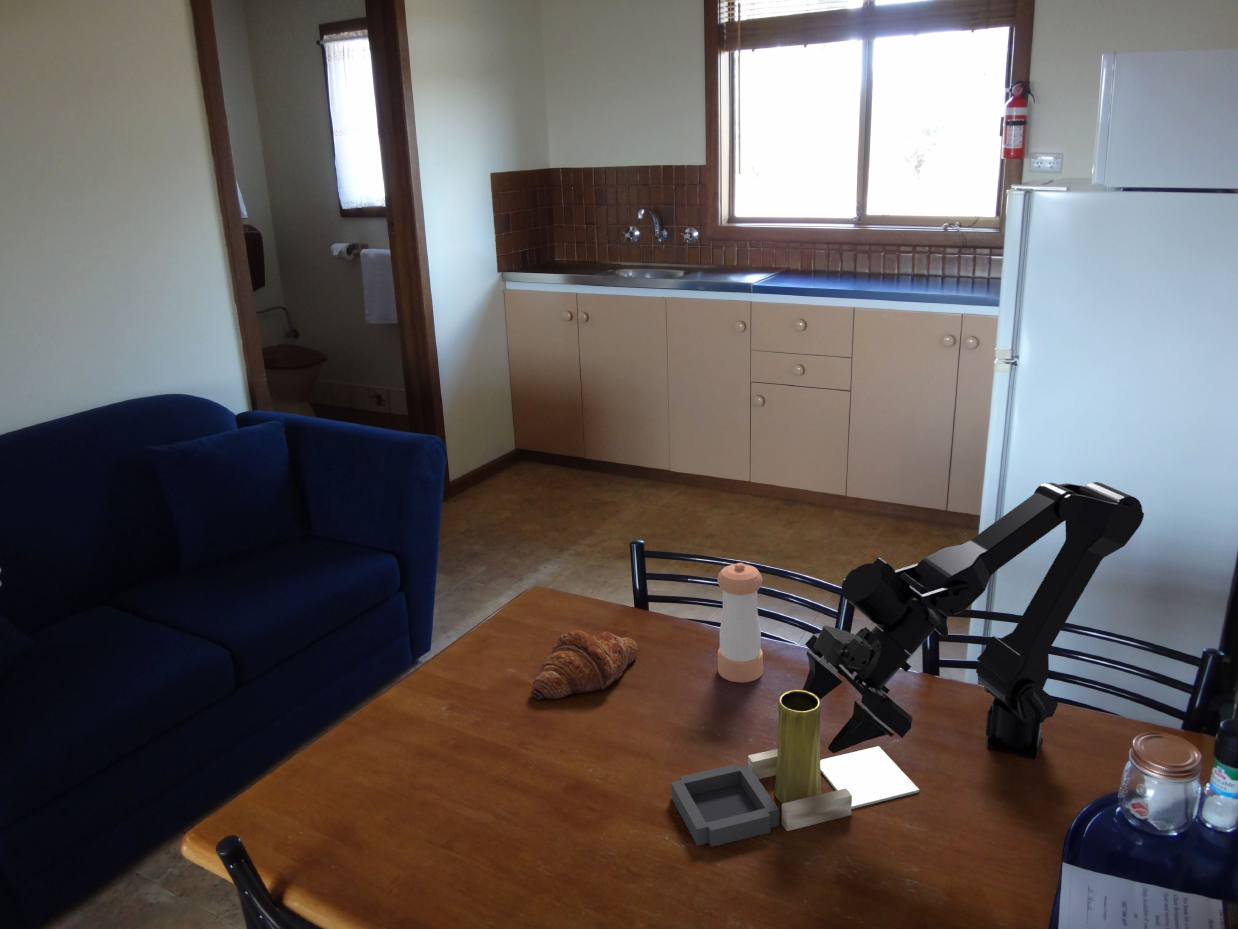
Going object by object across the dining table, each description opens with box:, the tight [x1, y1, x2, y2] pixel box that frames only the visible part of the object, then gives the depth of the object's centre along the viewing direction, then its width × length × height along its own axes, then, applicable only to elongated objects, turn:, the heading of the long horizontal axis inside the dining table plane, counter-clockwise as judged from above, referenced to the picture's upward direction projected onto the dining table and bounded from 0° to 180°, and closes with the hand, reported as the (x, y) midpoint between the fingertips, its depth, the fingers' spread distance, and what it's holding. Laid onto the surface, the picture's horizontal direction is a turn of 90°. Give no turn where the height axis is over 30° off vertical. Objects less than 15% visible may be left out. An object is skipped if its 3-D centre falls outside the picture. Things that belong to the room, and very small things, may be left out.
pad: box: [820, 746, 920, 810], centre depth 128 cm, size 10×10×1 cm
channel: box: [747, 748, 853, 832], centre depth 125 cm, size 9×12×3 cm
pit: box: [670, 763, 780, 848], centre depth 122 cm, size 11×11×2 cm
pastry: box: [530, 629, 639, 701], centre depth 155 cm, size 17×15×8 cm
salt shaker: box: [717, 562, 764, 683], centre depth 152 cm, size 7×7×19 cm
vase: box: [773, 689, 822, 804], centre depth 123 cm, size 6×6×14 cm
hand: (813, 730), depth 123 cm, fingers open, 9 cm apart
